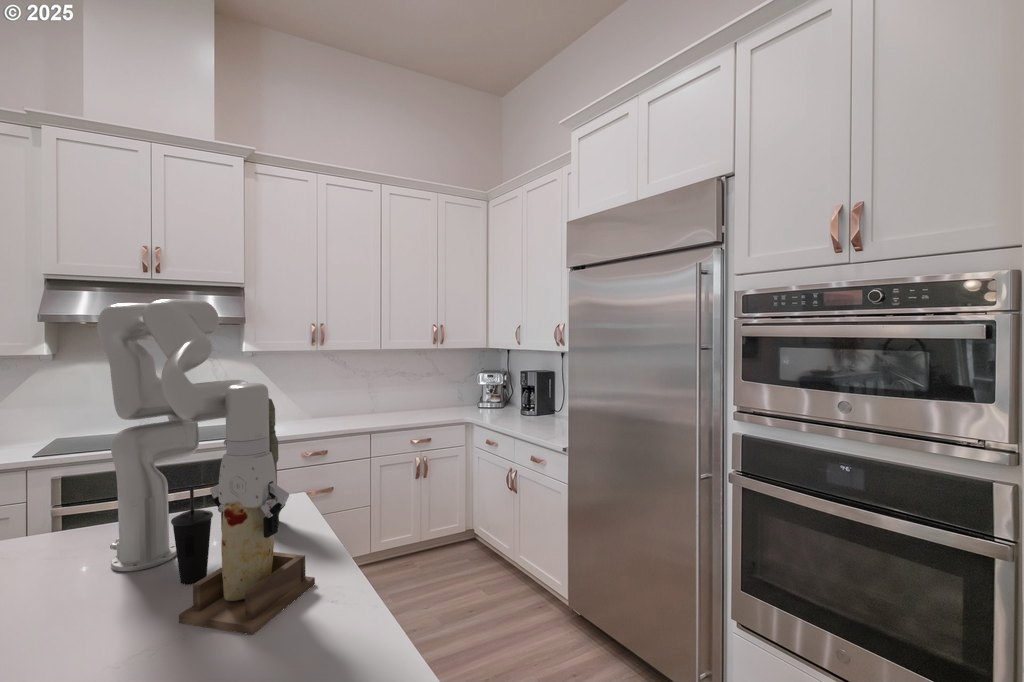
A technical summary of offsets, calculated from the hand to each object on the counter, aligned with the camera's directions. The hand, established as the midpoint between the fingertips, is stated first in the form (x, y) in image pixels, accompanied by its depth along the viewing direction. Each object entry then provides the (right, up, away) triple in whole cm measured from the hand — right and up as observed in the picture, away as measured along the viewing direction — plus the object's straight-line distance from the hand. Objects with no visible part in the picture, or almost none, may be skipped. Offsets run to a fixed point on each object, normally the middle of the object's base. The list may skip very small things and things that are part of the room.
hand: (249, 532), depth 100 cm
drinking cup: (-17, -14, +10) cm, 24 cm away
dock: (0, -14, 0) cm, 14 cm away
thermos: (-17, -13, +40) cm, 45 cm away
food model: (0, -13, +1) cm, 13 cm away
